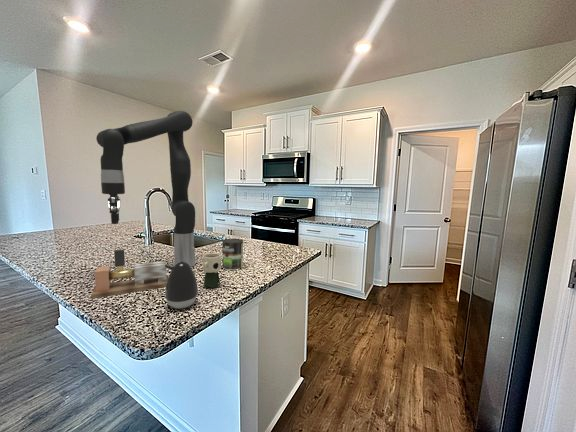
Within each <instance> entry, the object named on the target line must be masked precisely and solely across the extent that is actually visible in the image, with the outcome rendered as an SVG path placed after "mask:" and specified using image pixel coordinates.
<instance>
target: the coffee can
mask: <svg viewBox="0 0 576 432" xmlns="http://www.w3.org/2000/svg"><path fill="white" fill-rule="evenodd" d="M221 242H222V257H221V262H222V266H221V269H222V268H223V269H222V270H224V269H225V270H224V271H227V270H236V269H240V268H242V266H243V264H244V263H243V262H244V261H243V258H244V256H243V255H244V254H243V253H244V247H243V246H244V239H240V238H224V239H222V240H221ZM242 269H243V268H242ZM240 270H241V269H240ZM236 271H237V270H236Z"/></svg>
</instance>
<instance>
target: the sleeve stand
mask: <svg viewBox="0 0 576 432" xmlns="http://www.w3.org/2000/svg"><path fill="white" fill-rule="evenodd" d="M166 264H167V263H166V261H165V260H164V261H156V262H147V263H138V264H134V267H133V269H134V274H135V277H134V279H128V280H122V281H116V282H115V281H114V282H111V286H110V290H107V291H100V292H96V288H95V287H94V288H93V290H92V291H91V294H90V295H91V298H90V299H91V300H93V299H94V300H95V299H100V298H106V297H110V296H111V297H112V296H118V295H124V294H130V293H131V294H132V293H137V292H143V291H149V290H155V289H162V288H166V285H167V281H168V277H169V275H168V274H167V268H166V267H165V265H166Z"/></svg>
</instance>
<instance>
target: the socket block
mask: <svg viewBox="0 0 576 432" xmlns="http://www.w3.org/2000/svg"><path fill="white" fill-rule="evenodd" d="M109 272H111V265H106V266H105V265H104V266H97V267H96V268H95V271H94V284H95V285H94V288H96V292H100V291H107V290H110V286H111V283H112V280H109Z"/></svg>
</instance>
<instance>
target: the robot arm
mask: <svg viewBox="0 0 576 432" xmlns="http://www.w3.org/2000/svg"><path fill="white" fill-rule="evenodd" d="M192 126H193V118H192V116H191V115H190V114H189V113H188V112H187V111H184V110H177V111H173V112H170V113H169V114H168V115H167V116H165V117H162V118H156V119H151V120H145V121H140V122H136V123H135V122H134V123H130V124H126V125H124V126H121V127H116V128H107V129H104V130H101V131H99V132H98V133H97V134H96V142H97V144H98V145H99V146H100V147H102V154H101V156H100V186H101V194H103V195H109V197H108V198H107V203H108V210H109V212H108V213H109V214H110V221H111V222H110V223H111V225H118V224H119V221H120V208H121V198H120V197H119V195H124V194H125V193H126V187H125V175H124V167H123V156H124V148H125V145H128V144H133V143H139V142H142V141H146V140H149V139H151V138H155V137H158V136H160V135H164V134H167V140H168V149H169V150H168V151H169V167H170V180H171V188H172V197H171V200H172V201H171V211H172V212H171V213H172V214H173V215H174V216H175V226H174V227H173V253H174V254H173V255H174V256H173V257H174V259H173V260H174V265H175V264H176V263H178V262H186V263H188V264H189V265H190V267H191V268H192V267H196V247H195V238H194V237H195V235H194V234H195V231H194V230H195V226H196V208H195V205H194V204H193V203H192V202H191V201H189V185H190V181H191V176H192V169H191V165H192V164H191V159H190V156H189V154H188V151H187V149H186V147H185V143H184V132H187V131H190V129H192Z"/></svg>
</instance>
